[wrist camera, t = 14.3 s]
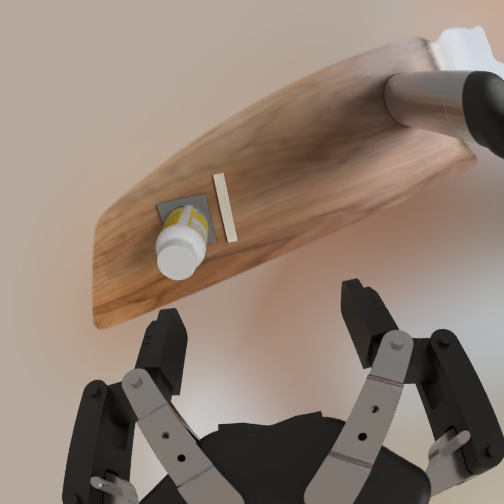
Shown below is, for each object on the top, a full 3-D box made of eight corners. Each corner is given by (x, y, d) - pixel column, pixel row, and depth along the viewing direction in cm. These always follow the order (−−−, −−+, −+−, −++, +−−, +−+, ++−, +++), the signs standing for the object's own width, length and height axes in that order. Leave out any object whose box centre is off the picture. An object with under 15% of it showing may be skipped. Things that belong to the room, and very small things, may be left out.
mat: (205, 193, 39) (204, 194, 39) (216, 240, 43) (216, 242, 42) (157, 203, 39) (156, 204, 39) (172, 249, 43) (171, 250, 43)
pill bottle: (161, 231, 41) (141, 272, 31) (178, 196, 38) (160, 229, 28) (197, 249, 43) (189, 294, 33) (216, 215, 40) (213, 254, 30)
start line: (223, 172, 38) (223, 173, 37) (237, 239, 43) (237, 240, 43) (213, 174, 38) (213, 175, 37) (228, 241, 43) (228, 242, 43)
